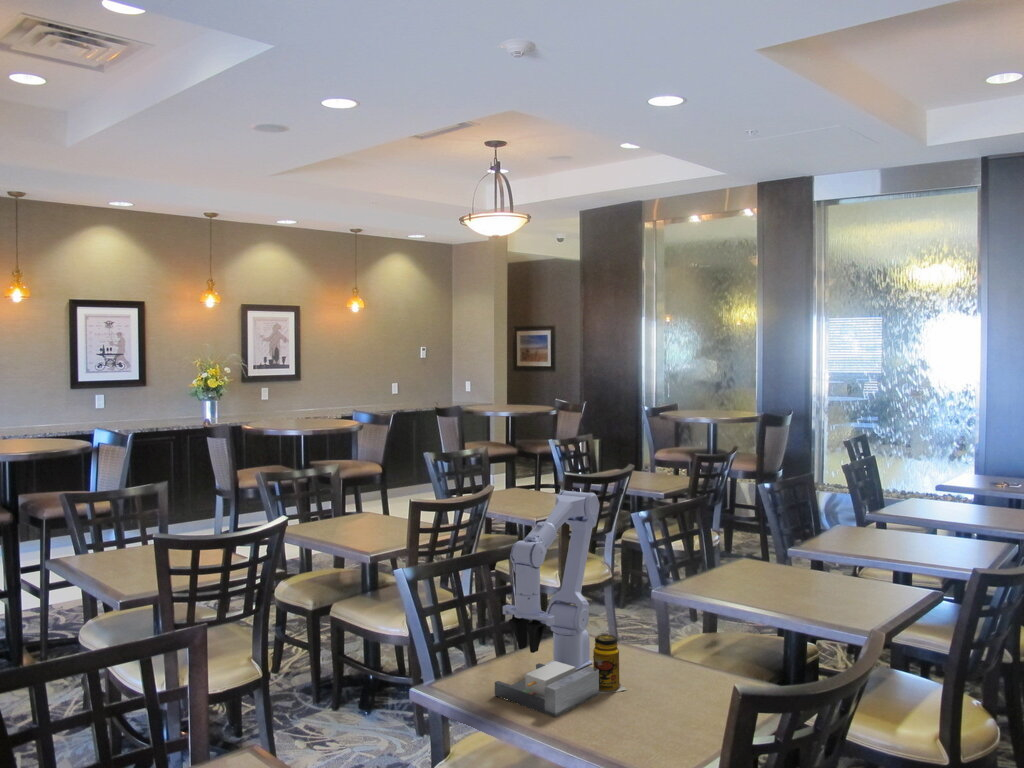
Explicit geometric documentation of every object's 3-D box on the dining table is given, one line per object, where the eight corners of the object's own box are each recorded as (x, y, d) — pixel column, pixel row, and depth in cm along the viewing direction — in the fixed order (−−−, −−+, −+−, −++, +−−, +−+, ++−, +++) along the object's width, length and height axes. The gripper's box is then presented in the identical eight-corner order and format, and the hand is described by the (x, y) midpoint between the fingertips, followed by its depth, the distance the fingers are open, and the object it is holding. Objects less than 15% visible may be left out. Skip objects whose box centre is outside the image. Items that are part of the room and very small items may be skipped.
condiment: (598, 694, 193) (598, 643, 192) (584, 681, 201) (584, 632, 200) (627, 690, 195) (627, 639, 195) (612, 677, 203) (611, 628, 203)
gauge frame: (539, 676, 204) (539, 651, 204) (598, 695, 192) (598, 669, 192) (494, 696, 192) (494, 670, 192) (555, 717, 180) (554, 690, 180)
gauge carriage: (555, 681, 198) (555, 661, 197) (575, 688, 194) (575, 667, 193) (517, 699, 188) (517, 677, 187) (538, 706, 184) (538, 684, 183)
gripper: (493, 590, 197) (494, 647, 198) (540, 601, 188) (541, 661, 188) (513, 584, 203) (514, 639, 203) (560, 595, 193) (560, 653, 193)
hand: (528, 649), depth 196 cm, fingers open, 3 cm apart
